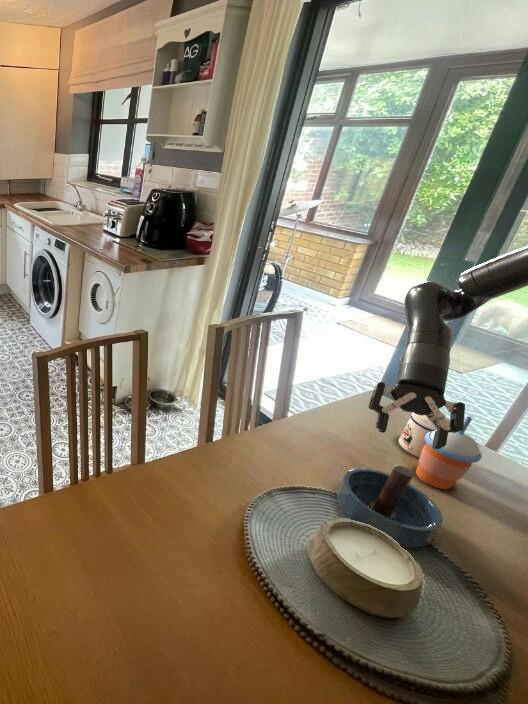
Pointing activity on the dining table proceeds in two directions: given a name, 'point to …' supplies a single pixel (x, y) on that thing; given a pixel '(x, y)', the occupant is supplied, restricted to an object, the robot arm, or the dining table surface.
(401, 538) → the bowl
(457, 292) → the robot arm
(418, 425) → the teacup with lid
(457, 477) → the cup with straw
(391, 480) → the brown wooden cylinder
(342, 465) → the dining table surface
